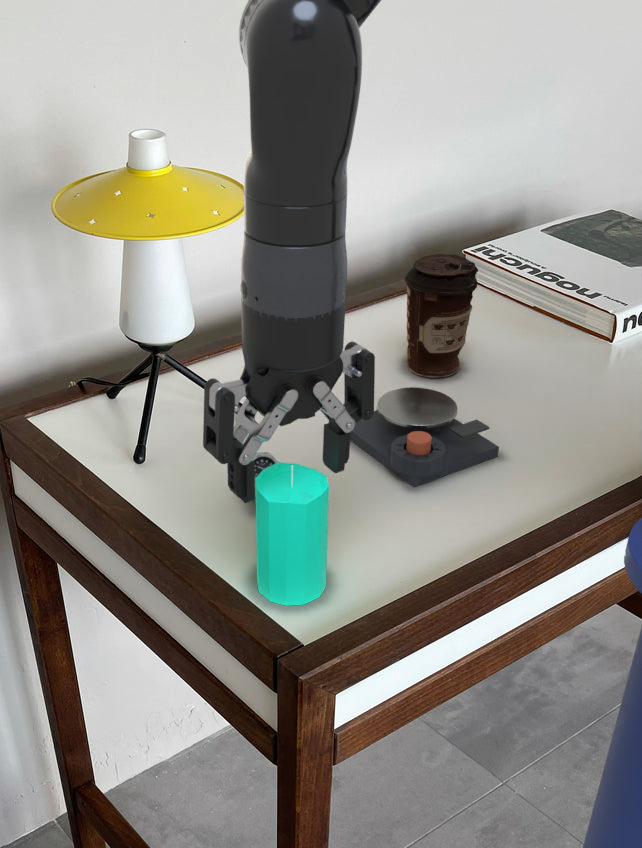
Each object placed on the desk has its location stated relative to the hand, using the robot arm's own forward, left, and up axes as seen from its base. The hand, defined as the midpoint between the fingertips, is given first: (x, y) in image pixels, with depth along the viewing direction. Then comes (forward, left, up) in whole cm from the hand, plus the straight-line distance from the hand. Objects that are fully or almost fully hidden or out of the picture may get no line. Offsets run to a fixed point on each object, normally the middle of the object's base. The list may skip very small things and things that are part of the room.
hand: (289, 482), depth 82 cm
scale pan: (+13, -25, -7) cm, 29 cm away
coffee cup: (+26, -37, -11) cm, 47 cm away
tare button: (+8, -21, -8) cm, 23 cm away
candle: (0, 0, -11) cm, 11 cm away
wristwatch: (+13, -5, -11) cm, 17 cm away
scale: (+13, -24, -10) cm, 29 cm away
